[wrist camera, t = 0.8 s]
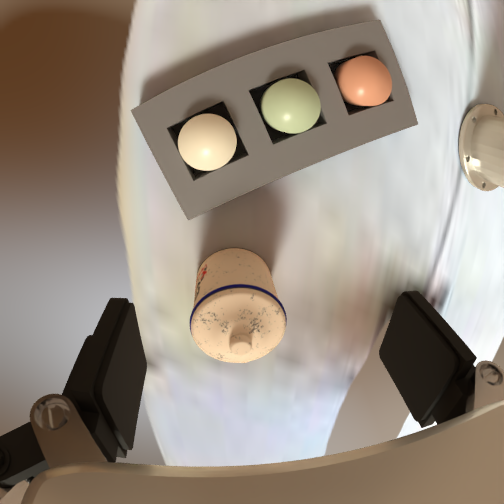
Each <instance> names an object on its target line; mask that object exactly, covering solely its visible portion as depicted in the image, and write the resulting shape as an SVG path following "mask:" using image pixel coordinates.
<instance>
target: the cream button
mask: <svg viewBox="0 0 504 504" xmlns="http://www.w3.org/2000/svg"><path fill="white" fill-rule="evenodd" d="M236 145H237V139H236V134H235V131H234V129H233V127H232V126H231V124H230V123H229V122H228V121H227V120H226V119H224V118H222V117H221V116H218V115H215V114H201V115H198V116H195V117H193V118H192V119H190V120H189V121H188V122H187V123H186V124H185V125H184V126H183V128H182V129H181V131H180V134H179V137H178V148H179V152H180V154H181V156H182V158H183V159H184V161H185V162H186V163H187V164H189V165H190V166H191V167H193V168H195V169H198V170H204V171H210V170H215V169H218V168H220V167H222V166H224V165H225V164H226V163H227V162H228V161H229V160H230V159H231V158H232V156H233V154H234V152H235V149H236Z"/></svg>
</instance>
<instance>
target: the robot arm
mask: <svg viewBox="0 0 504 504" xmlns="http://www.w3.org/2000/svg"><path fill="white" fill-rule="evenodd" d="M459 156H460V162H461V166H462V169H463V172H464V174H465V176H466V178H467V179H468V181H469V182H470V183H471V184H472V185H473V186H474V187H476V188H478V189H480V190H482V191H491V190H494V189H495V188H497V187H498V186H500V187H503V188H504V115H503V113H502V112H501V111H500V110H499V109H498V108H497V107H495V106H493V105H489V104H479V105H476V106H474V107H473V108H472V109H471V110H470V111H469V112H468V113H467V115H466V117H465V119H464V121H463V124H462V126H461V131H460V137H459ZM379 355H380V359H381V360H382V362H383V364H384V365H385V367H386V369H387V371H388V372H389V374H390V376H391V378H392V379H393V381H394V383H395V385H396V387H397V388H398V390H399V392H400V394H401V396H402V397H403V399H404V401H405V403H406V405H407V407H408V408H409V410H410V412H411V414H412V416H413V418H414V419H415V420H416V421H418V422H419V424H420V426H421V428H423V427H426V426H429V425H431V424H433V423H434V421H436V423H437V425H435V426H433V427H430V428H427V429H425V430H422V431H419V432H416V433H413V434H410V435H407V436H404V437H400V438H397V439H394V440H390V441H387V442H384V443H380V444H377V445H372V446H369V447H364V448H360V449H356V450H352V451H347V452H343V453H338V454H333V455H327V456H322V457H316V458H310V459H303V460H296V461H289V462H281V463H271V464H260V465H246V466H222V467H184V466H160V465H159V466H158V465H145V464H130V463H115V462H116V457H122V458H126V455H127V450H132V448H133V442H134V436H135V430H136V424H137V418H138V412H139V407H140V401H141V396H142V391H143V386H144V380H145V375H146V370H147V362H146V358H145V353H144V349H143V345H142V341H141V336H140V331H139V327H138V322H137V317H136V312H135V307H134V304H133V303H129V301H128V299H127V298H110V300H109V302H108V304H107V306H106V308H105V310H104V312H103V314H102V316H101V318H100V320H99V322H98V325H97V327H96V329H95V331H94V334H93V335H89V336H88V337H87V338H86V340H85V342H84V344H83V346H82V348H81V350H80V353H79V355H78V357H77V360H76V362H75V364H74V367H73V369H72V371H71V374H70V376H69V378H68V381H67V383H66V386H65V388H64V391H63V393H62V395H60V394H49V395H45V396H43V397H41V398H40V399H38V400H37V401H36V402H35V403H34V404H33V406H32V408H31V411H30V422H28V423H26V424H24V425H22V426H21V427H18V428H16V429H14V430H12V431H10V432H8V433H6V434H4V435H2V436H0V504H504V371H503V370H502V369H501V368H500V366H498V365H497V364H495V363H493V362H491V361H481V362H479V363H478V364H477V365H476V367H474V365H473V363H474V362H475V360H476V358H477V357H476V356H475V355H474V354H473V352H472V351H471V350H470V349H469V348H468V346H467V345H466V344H465V343H464V342H463V341H462V339H461V338H460V337H459V336H458V335H457V334H456V332H455V331H454V330H453V329H452V328H451V327H450V326H449V324H448V323H447V322H446V321H445V320H444V319H443V318H442V317H441V315H440V314H439V313H438V312H437V311H436V310H435V309H434V308H433V307H432V306H431V304H430V303H429V302H428V301H427V300H426V299H425V298H424V297H423V296H422V295H421V294H420V293H419V292H418V291H406V292H403V293H402V294H401V296H399V297H398V299H397V302H396V305H395V308H394V311H393V314H392V317H391V320H390V323H389V326H388V328H387V331H386V334H385V337H384V339H383V342H382V344H381V347H380V350H379Z"/></svg>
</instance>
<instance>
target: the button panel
mask: <svg viewBox="0 0 504 504" xmlns="http://www.w3.org/2000/svg"><path fill="white" fill-rule="evenodd" d="M358 55H363V56H371V57H374V58H376V59H378V60H379V61H381V62H382V63H383V64H384V65H385V66H386V68H387V69H388V71H389V73H390V76H391V79H392V90H391V93H390V96H389V97H388V99H387V100H386V101H385V102H383V103H382V104H380V105H376V106H363V107H360V108H357V109H354V110H351V111H348V112H347V110H346V107H345V104H344V102H343V99H342V96H341V94H340V91H339V89H338V86H337V84H336V82H335V79H334V77H333V74H332V72H331V70H330V67H329V65H328V64H329V63H332V62H336V61H339V60H343V59H347V58H350V57H354V56H358ZM294 74H297V75H298V77H299V80H302V81H304V82H306V83H308V84H309V85H310V86H312V87H313V89H314V90H315V91H316V93H317V94H318V96H319V99H320V105H321V110H320V115H319V117H318V119H317V123H315V124H314V125H313V126H312V127H311V128H309V129H308V130H306V131H304V132H301V133H289V134H287V135H284V136H282V137H279V138H277V139H274V140H272V141H271V139H270V137H269V134H268V132H267V130H266V128H265V125H264V123H263V121H262V119H261V116H260V114H259V112H258V110H257V108H256V105H255V103H254V101H253V99H252V97H251V95H250V93H249V91H251V90H253V89H256V88H258V87H261V86H263V85H266V84H269V83H271V82H274V81H277V80H280V79H282V78H285V77H288V76H291V75H294ZM222 102H223V103H224V105H225V108H226V110H227V112H228V114H229V116H230V118H231V120H232V122H233V124H234V127H235V129H236V131H237V133H238V135H239V137H240V139H241V142H242V144H243V146H244V148H245V150H246V152H244V153H242V154H240V155H238V156H235V157H233V158H231V159H230V160H229V161H228V162H227V163H226V164H225V165H224V166H222V167H220V168H218V169H215V170H210V171H203V172H201V173H199V174H197V175H195V173H194V171H193V169H192V167H191V166H190V165H189V164H187V163H186V162H185V161H184V159H183V158H182V156H181V154H180V152H179V148H178V139H177V137H176V135H175V133H174V131H173V129H172V127H173V126H174V125H176V124H178V123H180V122H182V121H184V120H186V119H188V118H190V117H192V116H194V115H196V114H199V113H201V112H203V111H205V110H207V109H209V108H211V107H214V106H216V105H218V104H220V103H222ZM131 112H132V114H133V116H134V118H135V120H136V122H137V124H138V126H139V128H140V130H141V132H142V134H143V136H144V138H145V140H146V142H147V144H148V146H149V148H150V149H151V151H152V153H153V155H154V157H155V159H156V161H157V163H158V165H159V167H160V169H161V171H162V173H163V174H164V176H165V178H166V180H167V182H168V184H169V186H170V188H171V190H172V191H173V193H174V195H175V197H176V199H177V201H178V203H179V204H180V206H181V208H182V210H183V212H184V214H185V215H186V217H187V219H188V220H190V219H193V218H195V217H197V216H199V215H201V214H203V213H205V212H207V211H209V210H211V209H213V208H216V207H218V206H220V205H222V204H224V203H226V202H228V201H231V200H233V199H235V198H237V197H239V196H241V195H244V194H246V193H248V192H250V191H253V190H255V189H257V188H259V187H261V186H264V185H266V184H268V183H271V182H273V181H275V180H277V179H280V178H282V177H284V176H287V175H289V174H291V173H294V172H296V171H298V170H301V169H303V168H306V167H308V166H310V165H313V164H315V163H318V162H320V161H322V160H325V159H327V158H330V157H332V156H335V155H337V154H340V153H342V152H345V151H347V150H350V149H353V148H355V147H358V146H360V145H363V144H365V143H368V142H371V141H373V140H376V139H379V138H381V137H384V136H387V135H390V134H392V133H395V132H398V131H401V130H403V129H406V128H409V127H412V126H415V125H417V124H418V122H417V118H416V115H415V112H414V108H413V105H412V102H411V98H410V95H409V92H408V89H407V86H406V83H405V80H404V78H403V75H402V72H401V69H400V67H399V64H398V61H397V59H396V56H395V54H394V51H393V49H392V46H391V44H390V42H389V39H388V37H387V35H386V32H385V30H384V28H383V26H382V24H381V21H380V20H375V21H369V22H363V23H358V24H353V25H348V26H343V27H338V28H334V29H329V30H325V31H321V32H317V33H313V34H310V35H306V36H302V37H299V38H295V39H292V40H289V41H285V42H282V43H279V44H276V45H273V46H270V47H267V48H264V49H261V50H258V51H256V52H253V53H250V54H247V55H245V56H242V57H239V58H237V59H234V60H232V61H229V62H227V63H224V64H222V65H220V66H217V67H215V68H213V69H210V70H208V71H206V72H204V73H201V74H199V75H197V76H195V77H193V78H191V79H189V80H186V81H184V82H182V83H180V84H178V85H176V86H174V87H172V88H170V89H168V90H166V91H165V92H163V93H161V94H159V95H157V96H155V97H153V98H152V99H150V100H148V101H146V102H144V103H143V104H141V105H139V106H137V107H136V108H134V109H132V110H131Z"/></svg>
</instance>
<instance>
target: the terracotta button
mask: <svg viewBox="0 0 504 504" xmlns="http://www.w3.org/2000/svg"><path fill="white" fill-rule="evenodd" d="M334 79H335V82H336V84H337V86H338V89H339V91H340V94H341V96H342V99H343V100H344V101H345V102H347V103H349V104H351V105H355V106H376V105H380V104H382V103H383V102H385V101H386V100H387V99H388V97H389V96H390V93H391V90H392V79H391V76H390V73H389V71H388V69H387V68H386V66H385V65H384V64H383V63H382V62H381V61H379V60H378V59H376V58H374V57H371V56H359V57H356V58H353V59H350V60H348V61H345V62H343V63H341V64H340V65H339V66H338V67H337V69H336V71H335V73H334Z"/></svg>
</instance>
